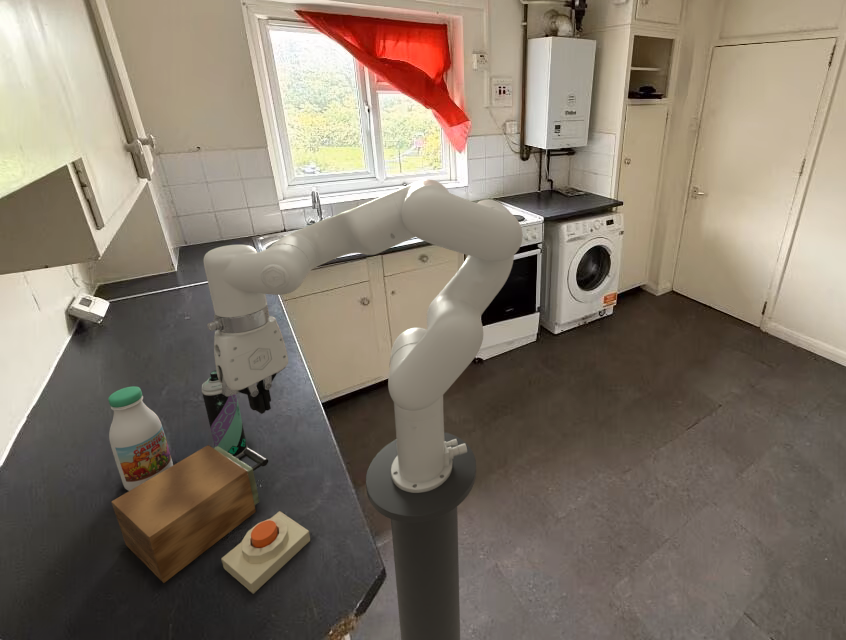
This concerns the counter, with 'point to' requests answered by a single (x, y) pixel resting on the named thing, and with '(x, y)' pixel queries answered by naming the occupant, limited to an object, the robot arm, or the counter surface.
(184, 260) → the counter surface
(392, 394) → the robot arm
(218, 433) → the spray can
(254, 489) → the drawer
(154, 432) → the milk bottle
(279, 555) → the button box
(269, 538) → the button
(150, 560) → the cabinet
